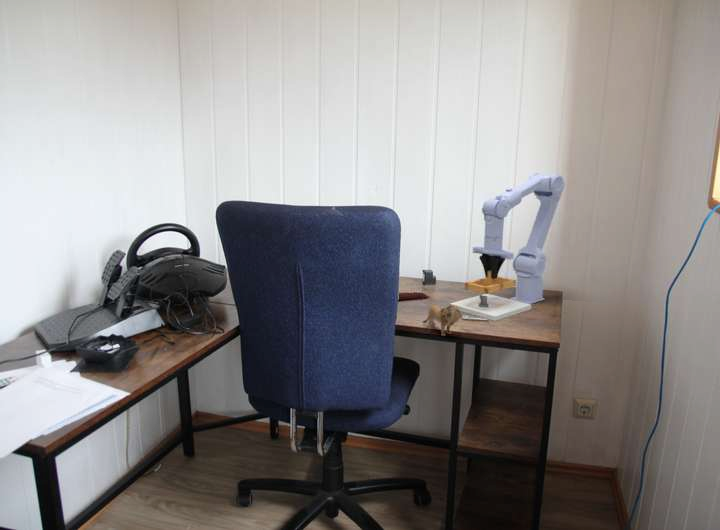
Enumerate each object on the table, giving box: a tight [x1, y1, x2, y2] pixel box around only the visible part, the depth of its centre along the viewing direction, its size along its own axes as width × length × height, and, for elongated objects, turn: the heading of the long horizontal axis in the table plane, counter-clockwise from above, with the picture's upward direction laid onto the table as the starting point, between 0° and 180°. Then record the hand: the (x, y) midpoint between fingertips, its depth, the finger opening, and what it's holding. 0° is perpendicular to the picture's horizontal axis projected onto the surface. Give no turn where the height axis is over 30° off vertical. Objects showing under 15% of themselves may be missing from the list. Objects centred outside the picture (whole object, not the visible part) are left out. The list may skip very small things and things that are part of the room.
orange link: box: [464, 270, 517, 294], centre depth 175 cm, size 16×8×6 cm, turn 130°
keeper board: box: [449, 293, 532, 322], centre depth 176 cm, size 20×18×5 cm
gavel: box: [398, 292, 431, 301], centre depth 186 cm, size 21×5×10 cm
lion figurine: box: [422, 305, 464, 337], centre depth 154 cm, size 15×5×9 cm, turn 36°
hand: (491, 277), depth 175 cm, fingers closed on orange link
